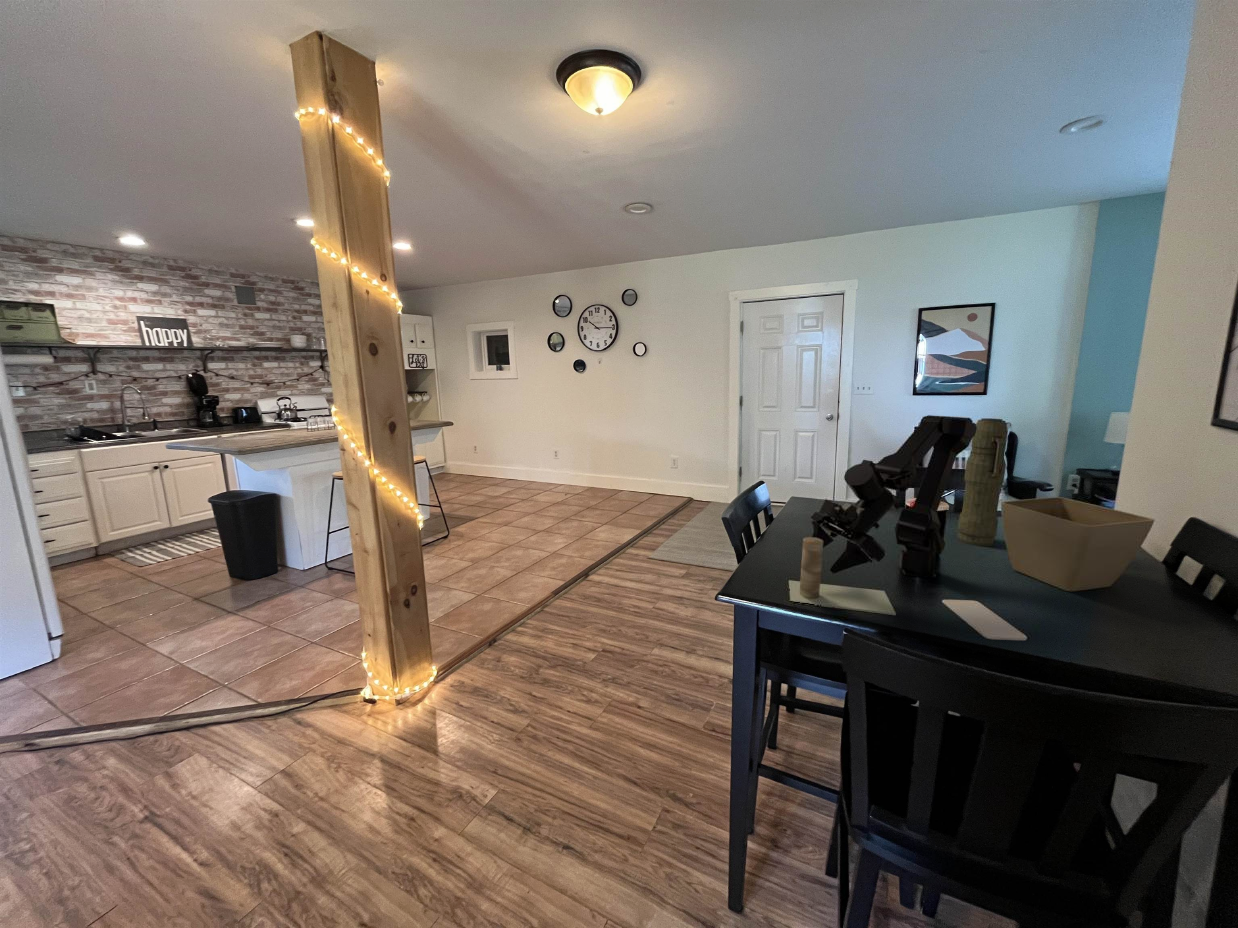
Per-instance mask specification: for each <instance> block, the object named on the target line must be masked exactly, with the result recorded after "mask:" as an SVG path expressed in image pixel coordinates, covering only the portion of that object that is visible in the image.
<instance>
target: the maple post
mask: <svg viewBox="0 0 1238 928" xmlns="http://www.w3.org/2000/svg"><path fill="white" fill-rule="evenodd" d="M823 550H824V548H823V540H821V539H819V538H814V537H812V536H808V537H803V539H802V551H801V552H802V553H801V554H802V555H801V565H800V566H801V568H800V579H799V581H800V595H801V596H803V597H805V598H809V599H816V598H818V597H819V591H820V584H821V575H822V563H823Z"/></svg>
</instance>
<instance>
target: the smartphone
mask: <svg viewBox="0 0 1238 928" xmlns="http://www.w3.org/2000/svg"><path fill="white" fill-rule="evenodd" d="M942 604H944V606H946V607H948V608H949V609H950V610H951V611H952V612H954V613H955V614H956V615H957V616H958V617H959V618H961V619H962V620H963V621H965V622H966V623H967V625H969V626H970V627H971V628H973V629H974V630H975V631H977V632H978V634H980V635H981V636H983V637H984V638H986V639H987V640H988V639H989V640H1000V641H1001V640H1004V641H1005V640H1006V641H1027V638H1028V637H1027V636H1026V635H1025V634H1024V633H1023V632H1021V631H1020V630H1018V629H1017V628H1016V627H1014V626H1013V625H1011V624H1010V623H1009V622H1007V621H1006V620H1004V618H1002V617H1000V616H999V615H997V614H996V613H994V612H993V611H992V610H990V609H989V608H987V607H986V606H984V605H983V604H982V603H980V602H979V601H977V600H966V599H942Z"/></svg>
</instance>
